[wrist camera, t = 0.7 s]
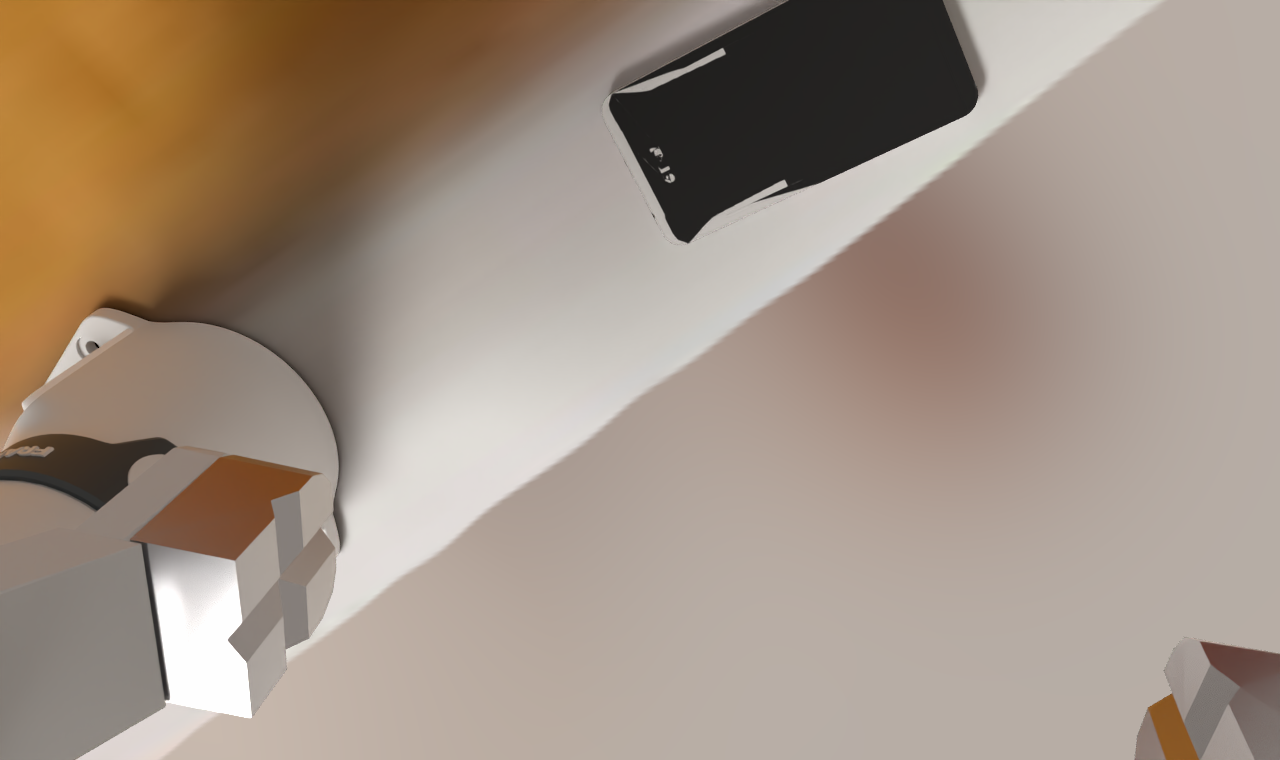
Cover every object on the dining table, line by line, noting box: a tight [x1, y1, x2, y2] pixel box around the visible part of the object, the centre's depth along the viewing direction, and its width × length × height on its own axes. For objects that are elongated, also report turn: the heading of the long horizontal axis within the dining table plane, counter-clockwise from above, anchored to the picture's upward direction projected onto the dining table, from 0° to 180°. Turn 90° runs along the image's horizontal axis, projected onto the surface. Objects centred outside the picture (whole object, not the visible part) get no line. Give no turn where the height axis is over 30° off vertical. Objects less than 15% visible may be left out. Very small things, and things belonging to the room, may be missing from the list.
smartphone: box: [602, 0, 978, 245], centre depth 45 cm, size 8×1×15 cm
